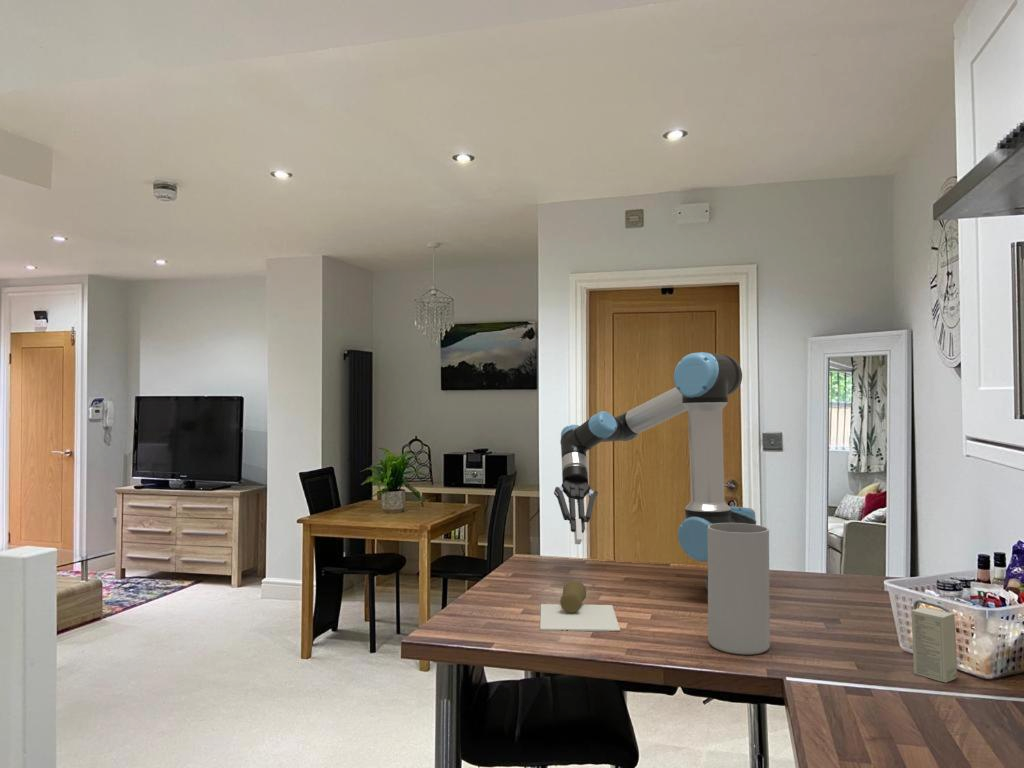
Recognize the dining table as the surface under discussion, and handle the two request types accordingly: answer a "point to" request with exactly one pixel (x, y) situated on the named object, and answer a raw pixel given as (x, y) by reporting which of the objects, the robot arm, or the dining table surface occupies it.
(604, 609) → the felt mat
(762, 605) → the cylinder vase
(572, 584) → the cork
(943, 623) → the skincare box
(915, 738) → the dining table surface
